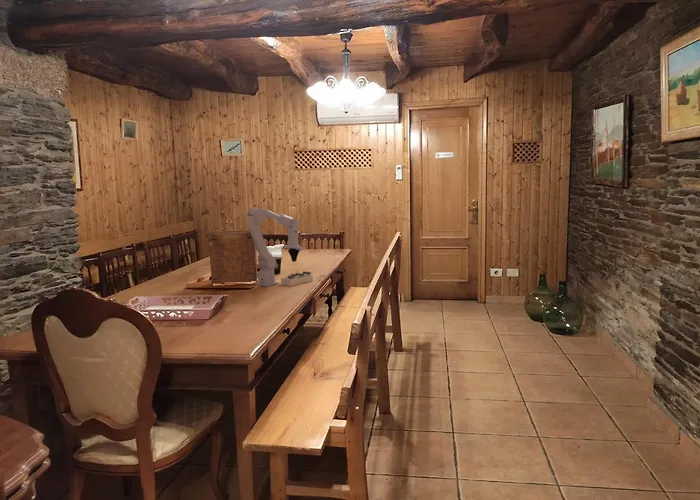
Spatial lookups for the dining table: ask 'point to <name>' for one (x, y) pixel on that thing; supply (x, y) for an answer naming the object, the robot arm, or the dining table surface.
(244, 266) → the carved wooden box
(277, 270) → the coffee mug
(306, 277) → the power strip
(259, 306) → the dining table surface
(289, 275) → the rocker inner
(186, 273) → the dining table surface
